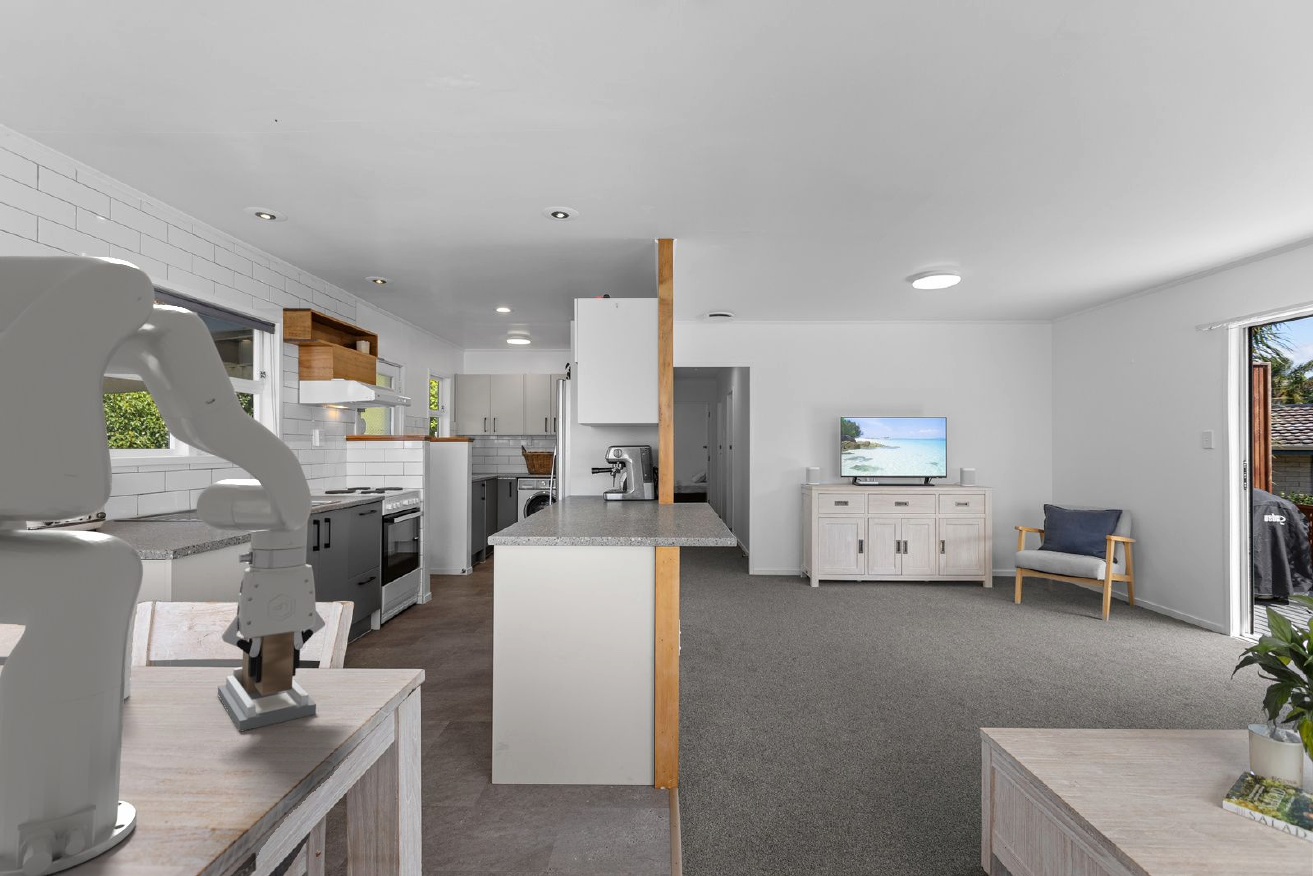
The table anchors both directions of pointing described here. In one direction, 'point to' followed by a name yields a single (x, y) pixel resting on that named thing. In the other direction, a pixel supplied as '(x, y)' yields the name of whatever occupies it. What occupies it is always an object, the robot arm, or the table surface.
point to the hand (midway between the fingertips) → (273, 676)
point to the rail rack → (261, 701)
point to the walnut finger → (276, 663)
